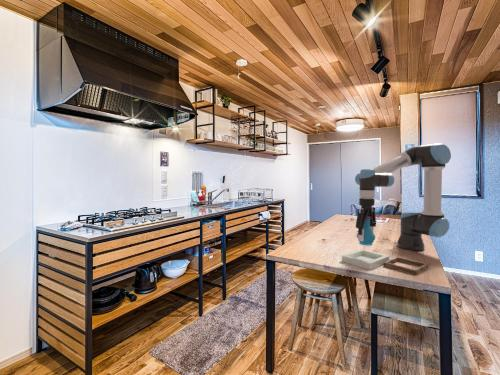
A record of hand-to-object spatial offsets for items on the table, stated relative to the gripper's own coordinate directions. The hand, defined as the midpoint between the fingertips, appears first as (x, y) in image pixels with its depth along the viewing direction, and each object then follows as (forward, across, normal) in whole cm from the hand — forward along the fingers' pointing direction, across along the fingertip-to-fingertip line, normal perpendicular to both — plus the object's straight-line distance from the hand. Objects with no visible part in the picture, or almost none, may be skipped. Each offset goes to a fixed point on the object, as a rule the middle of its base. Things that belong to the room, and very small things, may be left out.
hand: (365, 239), depth 141 cm
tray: (+12, 0, 0) cm, 12 cm away
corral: (+12, -8, +17) cm, 23 cm away
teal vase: (+3, 0, 0) cm, 3 cm away
